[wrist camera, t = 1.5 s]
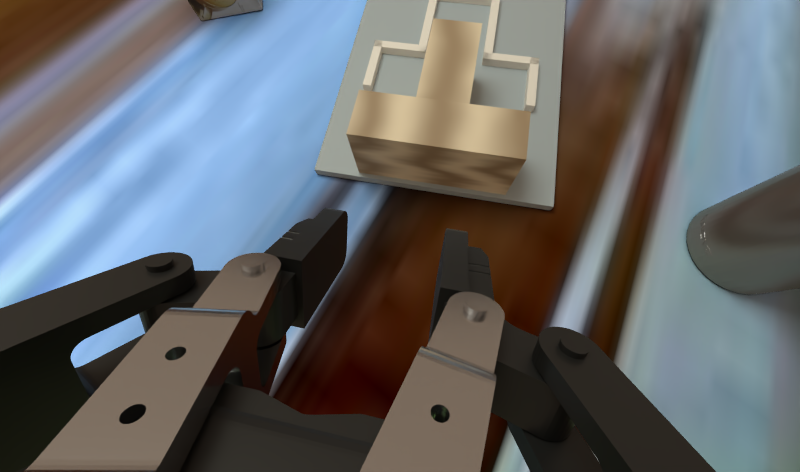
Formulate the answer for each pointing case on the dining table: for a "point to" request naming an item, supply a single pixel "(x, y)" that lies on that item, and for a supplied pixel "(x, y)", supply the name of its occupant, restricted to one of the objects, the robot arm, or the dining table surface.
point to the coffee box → (223, 7)
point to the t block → (441, 123)
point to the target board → (492, 86)
